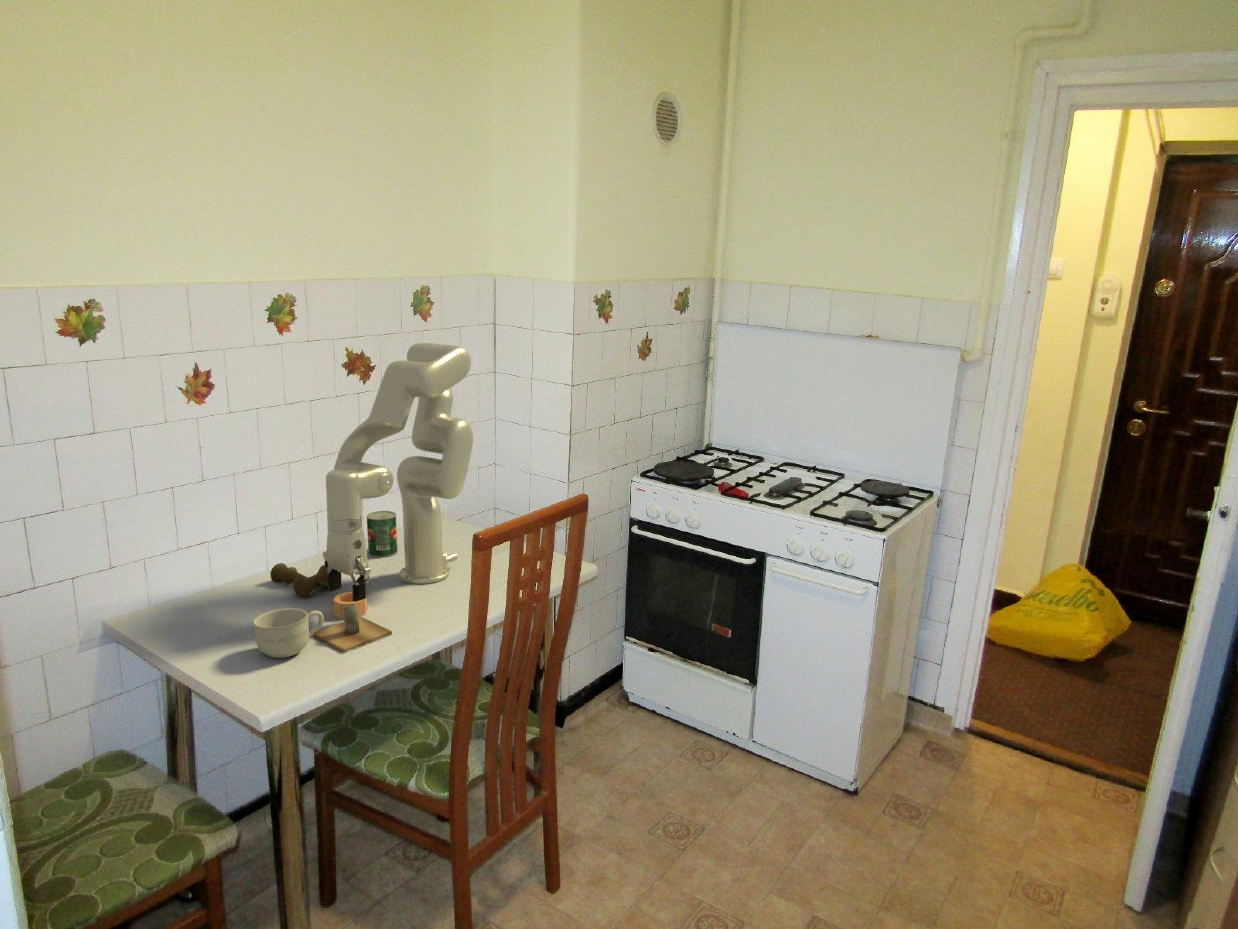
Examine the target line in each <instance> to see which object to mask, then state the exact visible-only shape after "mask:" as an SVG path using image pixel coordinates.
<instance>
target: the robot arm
mask: <svg viewBox="0 0 1238 929" xmlns="http://www.w3.org/2000/svg"><path fill="white" fill-rule="evenodd" d="M471 366H472V359H471V355H470V354H469V352H468V350H467V349H465V347H462V346H459V345H454V344H453V345H452V344H441V343H432V342H431V343H430V342H420V343H415V344H412V345H411V346H409V348H408V350H407V353H406V360H396V361H393V362H390V363H389V365H388V366H387V367H386V369H385V371H384V374H383V376H382V379H381V383H380V384H379V387H378V391H377V393H376V396H375V399H374V402H373V405H372V407H371V410H370V412H369V416H368V417H367V418H366V420H365V421H364V420H363V422H362V423H360V424H359V425H358V426H357V427H356V428H355V429H354V430H353V431H352V432H351V433H350V434H349V435H348V436H347V438H346V439H345V440H344V442H343V443H342V445H341V446H340V449H339V452H338V454H337V457H336V460H335V464H334V467H333V470H330V471H328V472H327V474H326V476H325V491H326V492H325V493H326V494H325V496H326V517H327V518H326V519H327V520H326V522H327V535H326V550H325V551H323V552H322V557H323V560H324V565H326V567H327V570H326V572H327V574H328V587H327V588H328V591H330V592H333V591H337V590H339V589H341V588H342V574H345V575H347V576H350V577H351V580H352V582H353V584H352V585H351V587H352V590H351V592H353V601H354V602H357V601H360V600H363V599H366V595H367V584H368V580H369V579H370V573H371V571H372V570H371V568H370V566H369V563H368V548H367V542H366V537H365V533H364V530H363V517H362V516H363V515H362V509H363V507H362V500H363V499H364V500H365V499H371V498H373V499H375V498H379V497H380V498H381V497H383V496H385V495H386V494H388V493H389V491H390V490H391V489H392V488H393V485H394V476H393V474H392V472H391V470H390V469H388V468H387V467H385V466H383V465H380V464H373V463H369V462H362V459H364V456H365V454H366V452H367V451H368V450H369V449H370V448H371V447H372V446H373V445H375V444H376V443H378V442H379V441H382V440H383V439H387V438H389V437H391V436H394V435H396V434H398V433H401V432H402V431H403V430H405V428H406V425H407V422H408V418H409V416H410V412H411V409H412V408H413V407H412V406H413V403H414V400H415V398H418V402H417V408H416V410H415V411H416V412H415V417H414V422H413V425H412V426H413V427H412V431H411V443H412V445H413V447H414V448H416V449H418V450H420V451H423V452H427V453H433V454H434V453H435V454H440V455H442V458H441V459H440V458H435V457H428V456H423V455H411V456H408V457H405V458H404V459H403V460H402V461H401V462H400V463H399V465H398V467H397V472H396V479H397V486H398V489H399V493H400V497H401V504H402V518H403V519H402V522H403V523H402V525H403V545H404V567H403V568H402V569H400V571H399V572H398V573H399V578H400V580H402V581H404V582H406V583H411V584H420V585H421V584H430V583H431V584H432V583H436V582H439V581H442V580H444V579H446V578H447V577H448V576H449V575H450V569H449V567H448V566H447V565H449V563H452V562H455V561H457V560H458V555H457V554H456V553H455V552H454V553H451V554H448V555H447V553H443V533H442V531H443V530H442V509H441V504H440V501H439V500H438V499H445V500H450V499H451V500H453V499H455V498H457V497H458V496H459V495H461V493H462V491H463V489H464V485H465V483H466V479H467V473H468V469H469V465H470V464H469V463H470V459H471V455H472V452H473V451H472V450H473V444H474V433H473V429H472V427H471V425H470V423H468V421H467V420H465V419H462V418H460V417H453V416H452V417H451V415H452V409H453V403H454V396H453V395H454V394H453V391H452V387H454V386H456V385H458V383H460V382H462V381H463V380H464V379H465V378H466V376H468V374H469V372H470V370H471ZM357 575H359V576H358V577H357Z"/></svg>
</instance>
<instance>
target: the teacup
mask: <svg viewBox="0 0 1238 929" xmlns="http://www.w3.org/2000/svg"><path fill="white" fill-rule="evenodd" d="M315 616H317V617H318V620H317V623H316V624H315V625H314V626H313V627H312V628H310V627H309V625H310V623H311V619H312V618H313V617H315ZM324 621H325V617H324V615H323V613H322V612H321V611H319V610H312V611H310V612H307V610H304V609H301V608H280V609H275V610H271V611H268V612H265V613H262V614H260V615H258V616H257V617H256V618H255V619H254V620H253V623H252V624H253V626H254V633H255V634H254V635H255V642H256V646H257V647H258V648H257V649H258V650H259V651H260V652H261V653H262V654H265V655H267V657H269V658H271V659H272V658H274V659H282V658H288V657H292V656H295V655H297V654H299V653H300V652H302V650H303V649H304V648H305V647H306V646H307V645H308V643H309V640H310V638H311V637H313V633H315V632H317V631H319V630H320V628H321V627H322V626H323V624H324Z"/></svg>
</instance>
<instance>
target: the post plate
mask: <svg viewBox="0 0 1238 929" xmlns="http://www.w3.org/2000/svg"><path fill="white" fill-rule="evenodd" d="M343 619H344V621H343V622H340V623H336V624H334V625H331V626H329V627H326V628H325V627H324V628H323V629H318V630H317V631H316V632H315V633H313V634H312V637H314V638H315V639H318V640H319V639H320V641H321V640H322V641H321V642H323V641H324V643H325V644H327V643H328V644H327V645H329V644H330V645H329V646H331V647H333V648H334V647H335V649H336V648H337V649H336V650H339V651H340V650H341V651H340V652H342V653H345V654H346V653H348V652H350V651H349V650H351V651H352V650H355V649H358V648H360V647H363V646H365V644H366V645H368V644H367V643H369V644H370V643H374V642H375V641H374V640H376V641H379V640H381V639H380V638H382V639H384V638H386V637H389V636H392V635H393V631H392V630H391V629H388V628H385V627H384V626H382V625H380V624H377V622H376V623H375V622H374V621H372V620H369V619H367V618H365V617H363V616H359V614H358V607H357V606H347V607H345V608H344V618H343ZM391 634H392V635H391ZM383 637H384V638H383ZM378 639H379V640H378ZM373 641H374V642H373ZM357 647H358V648H357ZM347 651H348V652H347Z"/></svg>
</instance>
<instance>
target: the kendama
mask: <svg viewBox="0 0 1238 929" xmlns="http://www.w3.org/2000/svg"><path fill="white" fill-rule="evenodd" d="M326 570H327V567H326V565H325V564H323V565H321V566H320V567H319V568H318V571H317V572H316V574H314V575H311V576H306V575H304V574H302V573H301V572H298V569H297V568H296V567H295V566H291V567H288V566H287V564H285V563H283V562H281V563H280V562H279V563H277V564H275V565H273V566H272V568H271V570H270V580H271V582H273V583H274V584H279V583H278V582H280V583H282V582H283V583H284V584H285V585H291V584H292V588H293V592H294V594H295V595H296V596H297V597H298V598H300V599H303V600H304V599H308V598H309V597H310V596H311V595H312V593H313V592H314V590H317V589H319V588H328V574H327V572H326Z"/></svg>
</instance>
